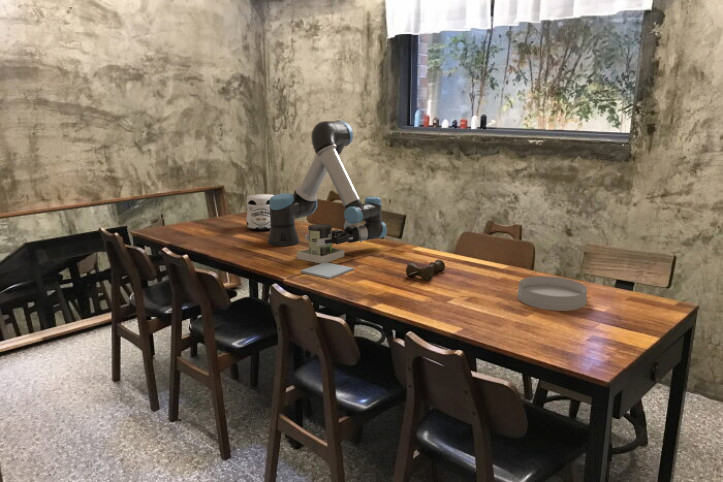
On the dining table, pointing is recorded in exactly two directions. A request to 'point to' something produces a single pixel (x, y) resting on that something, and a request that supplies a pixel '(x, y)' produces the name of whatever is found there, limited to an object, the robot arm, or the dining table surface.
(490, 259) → the dining table surface
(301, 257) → the frame
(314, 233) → the coffee can
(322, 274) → the mat
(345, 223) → the ceramic mug
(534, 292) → the dish
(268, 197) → the milk container
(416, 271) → the kendama
